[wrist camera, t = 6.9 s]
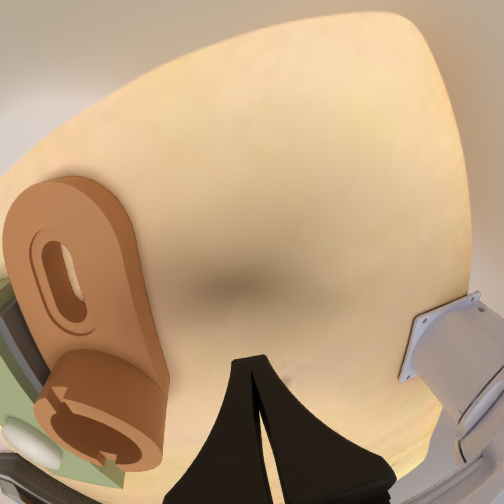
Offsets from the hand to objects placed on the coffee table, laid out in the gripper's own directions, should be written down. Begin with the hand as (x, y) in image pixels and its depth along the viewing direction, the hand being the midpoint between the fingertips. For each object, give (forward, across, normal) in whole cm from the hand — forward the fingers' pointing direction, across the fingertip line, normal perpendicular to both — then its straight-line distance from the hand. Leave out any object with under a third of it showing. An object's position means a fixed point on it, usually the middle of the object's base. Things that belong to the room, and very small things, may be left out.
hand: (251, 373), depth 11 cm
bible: (+6, +49, +41) cm, 64 cm away
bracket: (+6, +10, 0) cm, 12 cm away
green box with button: (+6, +20, +7) cm, 22 cm away
